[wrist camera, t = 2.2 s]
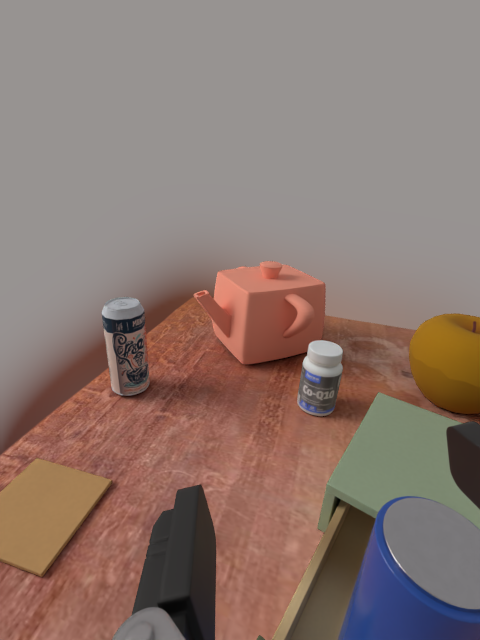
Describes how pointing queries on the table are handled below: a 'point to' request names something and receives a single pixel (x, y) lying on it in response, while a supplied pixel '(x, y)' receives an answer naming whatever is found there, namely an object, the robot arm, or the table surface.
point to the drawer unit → (396, 462)
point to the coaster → (45, 513)
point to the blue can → (417, 576)
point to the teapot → (266, 311)
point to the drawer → (328, 579)
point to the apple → (448, 362)
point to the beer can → (126, 345)
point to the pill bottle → (320, 378)
